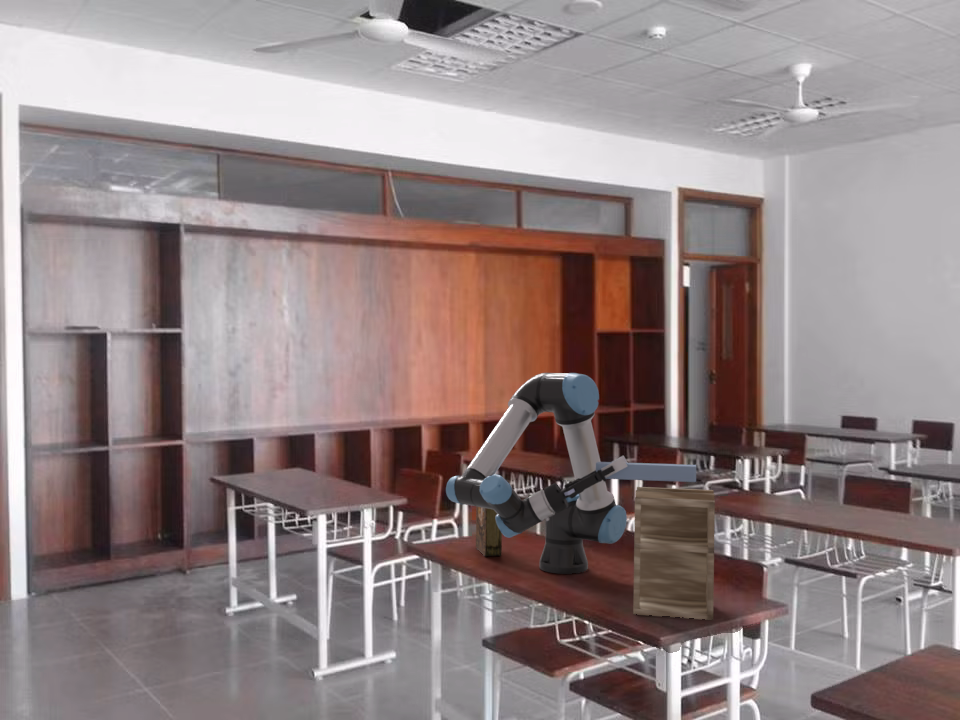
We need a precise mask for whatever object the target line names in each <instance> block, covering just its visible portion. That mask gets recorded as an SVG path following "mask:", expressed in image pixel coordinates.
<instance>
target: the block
mask: <svg viewBox="0 0 960 720" xmlns="http://www.w3.org/2000/svg"><path fill="white" fill-rule="evenodd" d="M611 463H613V462H612V461H601V462H597V463H596V472H597V471H598V470H601V468H603V467H605V466H607V465H609V464H611ZM626 464H627V467H626V468H624V469H622V470H620V471H618V472H616V473H614V474H612V475H611V476H609V477H607V478H606V477H605V476H604V477H605V479H606V480H629V481H631V480H632V481H653V482H655V481H659V482H680V483H681V482H684V483H685V482H686V483H687V482H688V483H696V482H697V465H696V464H676V463H653V462H652V463H650V462H649V463H648V462H647V463H645V462H644V463H643V462H628V463H626ZM601 471H602V470H601Z"/></svg>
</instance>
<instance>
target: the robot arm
mask: <svg viewBox="0 0 960 720" xmlns="http://www.w3.org/2000/svg"><path fill="white" fill-rule="evenodd" d="M599 393H600V392H599V388H598V386H597V383H596V382H595V381H594V380H593V378H591V377H590V376H589V375H586V374H582V373H577V372H569V373H565V372H564V373H562V372H542V373H537V374H536V375H534V376H532V377H531V378H529V379H527V381H525V382H524V383H523V384H522V385H521V386H519V388H517V390H516V391H515V392H514V393H513V394H512V396H511V397H510V399H509V400H508V402H507V406H508V408H507V409H506V410H505V412H504V413H503V415H502V417H501V418H500V419H499V421H498V422H497V423H496V425H495V427H494V428H493V429H492V431H491V433H489V436H488V437H486V440H485V441H484V442H483V443H482V446H481V447H480V449H478V451H477V452H476V454H475V456H474V457H473V458H472V460H471V462H469V465H468V466H467V467H466V468H465V470H464V472H463V473H462V474H461V475H455V476H452V477H450V478H449V479H448V481H447V483H446V487H445V493H446V494H445V495H446V496H447V498H448V500H450V501H451V502H453V503H455V504H459V505H462V506H464V505H466V506H472V507H476V506H477V507H482V508H488V509H493V510H494V511H495V512H496V513H497V515H496V517H495V519H496V523H497V526H498V528H499V529H500V531H501V533H502V536H504V537H505V538H508V539H509V538H513V537H514V536H518V535H520V534H522V533H523V532H526V531H527V530H529V529H530V528H532V527H535V526H536V525H538V524H540V523H541V522H543V521H545V543H544V547H543V550H542V553H541V555H540V558H539V569H540V570H541V571H544V572H546V573H551V574H552V573H553V574H559V575H560V574H561V575H573V574H572V573H576V574H581V573H580V572H582V573H585V572H587V571H588V570H589V563H588V558H587V556H586V551H585V547H584V544H583V542H584V541H583V540H587V541H592V542H598V543H600V544H610V545H611V544H612V545H613V544H615V543H616V542H618V541H619V540H620V539H621V538H622V536H623V535H624V533H625V530H626V527H627V523H628V522H627V521H628V519H627V511H626V510H625V507H622V506H621V505H619V504H616V500H615V496H614V494H613V493H612V492H610V491H608V487H607V483H606V481H607V479H605V477H606V478H607V477H609V476H611V475H612V474H614V473H616V472H618V471H620V470H622V469H624V468H626V467H627V464H626V463H629V462H628V461H627V459H626V457H625V456H624V455H621V456H620V457H618V458H616V459H614V460H612V461H611V462H613V463H611V464H609V465H607V466H605V467H603V468H601V470H602V471H601V470H598V471H597V472H596V463H597V462H602V461H601V458H600V457H601V456H600V453H599V450H598V446H597V440H596V436H595V431H594V428H593V423H592V419H593V418H594V416H595V415H596V414H595V412H596V410H597V408H598V406H599V401H600V394H599ZM543 413H553V416H554V420H555V423H556V424H557V425H558V426H560V427H562V430H563V431H562V432H563V434H564V440H565V444H566V448H567V451H568V455H569V461H570V464H571V468H572V472H573V476H574V480H572V481H569V482H568V483H567V482H566V484H565V485H564V488H562V489H561V486H560V485H559V484H557V483H552V484H550V485H549V486H546V487H544V489H541V490H538V491H537V492H535V493H533V494H531V495H529V496H528V497H526V498H524V499H522V498H521V497H520V496H519V495H518V493H517V492H516V491H515V490H514V488H513V487H512V485H511V484H510V483H509V482H508V481H507V479H505V478H504V477H503V476H502V475H500V474H496V473H497V472H498V470H499V468H500V467H501V466H502V464H503V463H504V461H505V460H506V458H507V457H508V455H510V452H511V451H512V449H513V447H514V446H516V443H517V442H518V441H519V439H520V437H521V436H522V435H523V433H524V432H525V430H526V429H527V427H528V426H529V424H530V423H532V422H535V421H536V420H537V418H538V417H539V416H540V415H541V414H543ZM604 476H605V477H604ZM587 569H588V570H587ZM586 570H587V571H586ZM584 571H585V572H584Z"/></svg>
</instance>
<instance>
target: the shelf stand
mask: <svg viewBox="0 0 960 720" xmlns="http://www.w3.org/2000/svg"><path fill="white" fill-rule="evenodd" d="M715 504H716V501H715V492H714V489H696V488H677V487H672V488H671V487H652V486H636V490H635V497H634V532H633V533H634V534H633V535H634V537H633V538H634V540H633V542H634V547H633V548H634V549H633V602H632V603H633V604H632V605H633V607H632V609H633V611H632V613H633V615H636V614H637V615H639V616H649V615H652V616H651V617H662V616H670V617H669V618H675V617H680V618H679V619H689V618H694V619H693V620H702V619H705V620H704V621H714V592H715V591H714V587H715V586H714V584H715V582H714V581H715V574H714V573H715V523H716V521H715V518H716V517H715V516H716V515H715V511H716V510H715V509H716V508H715V507H716V506H715ZM682 617H684V618H682Z"/></svg>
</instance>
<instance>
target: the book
mask: <svg viewBox="0 0 960 720" xmlns="http://www.w3.org/2000/svg"><path fill="white" fill-rule="evenodd" d="M475 507H476V509H475V510H476V511H475V512H476V515H475V517H476V518H475V522H476V523H475V525H476V526H475V533H476V534H475V548H476V547H477V548H476V550H477V551H478V550H479V551H480V552H481V553H482V554H483V555H482V554H481V553H480V552H479V553H480V554H481V555H482V556H483V557H490V556H491V557H492V556H497V557H502V549H503V548H502V546H503V545H502V542H503V539H502V538H503V534H502V533H501V531H500V529H499V528H498V526H497V523H496V519H495V517H496V515H497V513H496V512H495V511H494V510H493V509H488V508H482V507H477V506H475Z"/></svg>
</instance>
